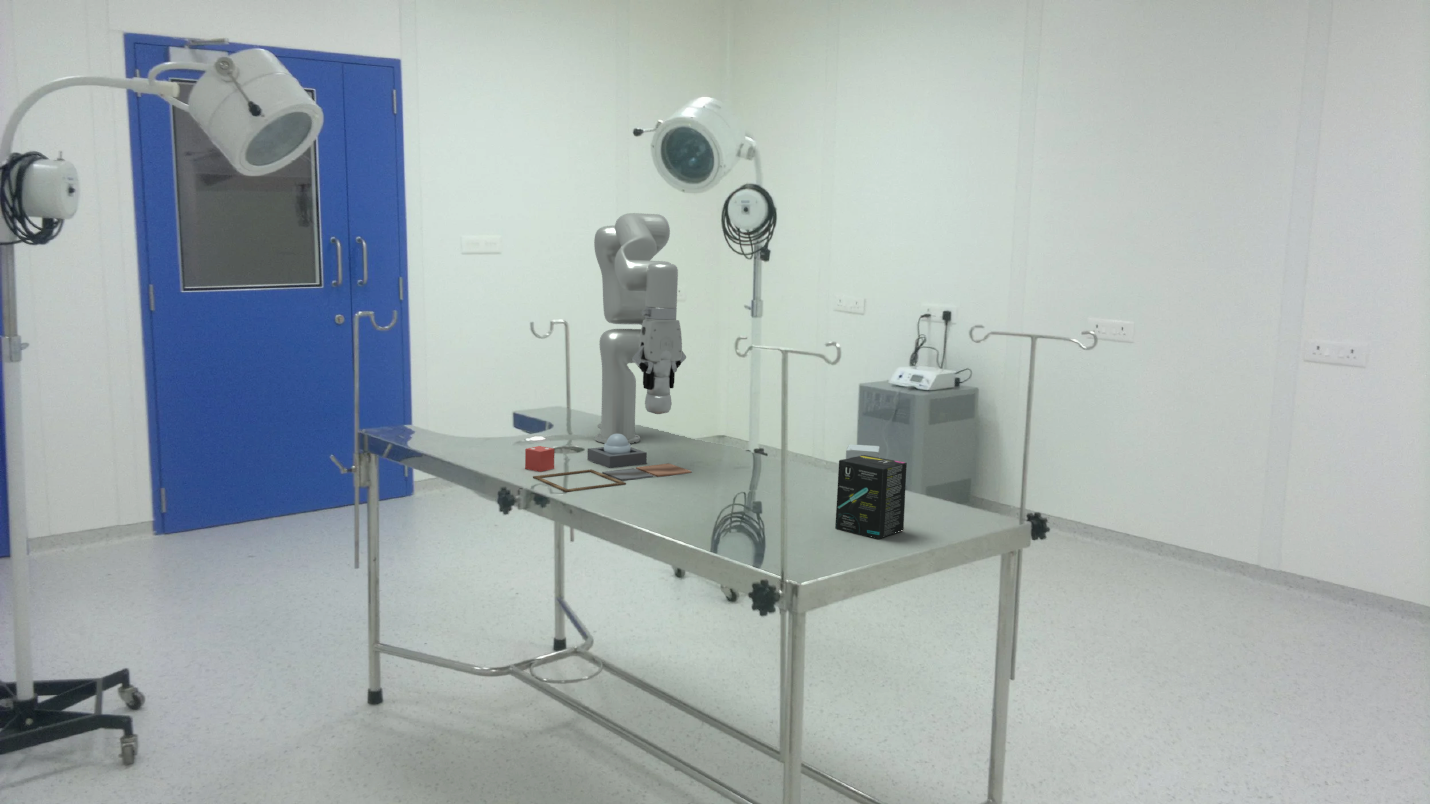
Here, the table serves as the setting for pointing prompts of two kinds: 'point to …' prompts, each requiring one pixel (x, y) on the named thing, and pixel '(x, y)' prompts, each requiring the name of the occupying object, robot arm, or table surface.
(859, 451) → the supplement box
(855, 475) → the tampon box
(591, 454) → the grey hollow frame
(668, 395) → the plastic bottle
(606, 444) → the dome
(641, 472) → the game track
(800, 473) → the table surface
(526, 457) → the red die
